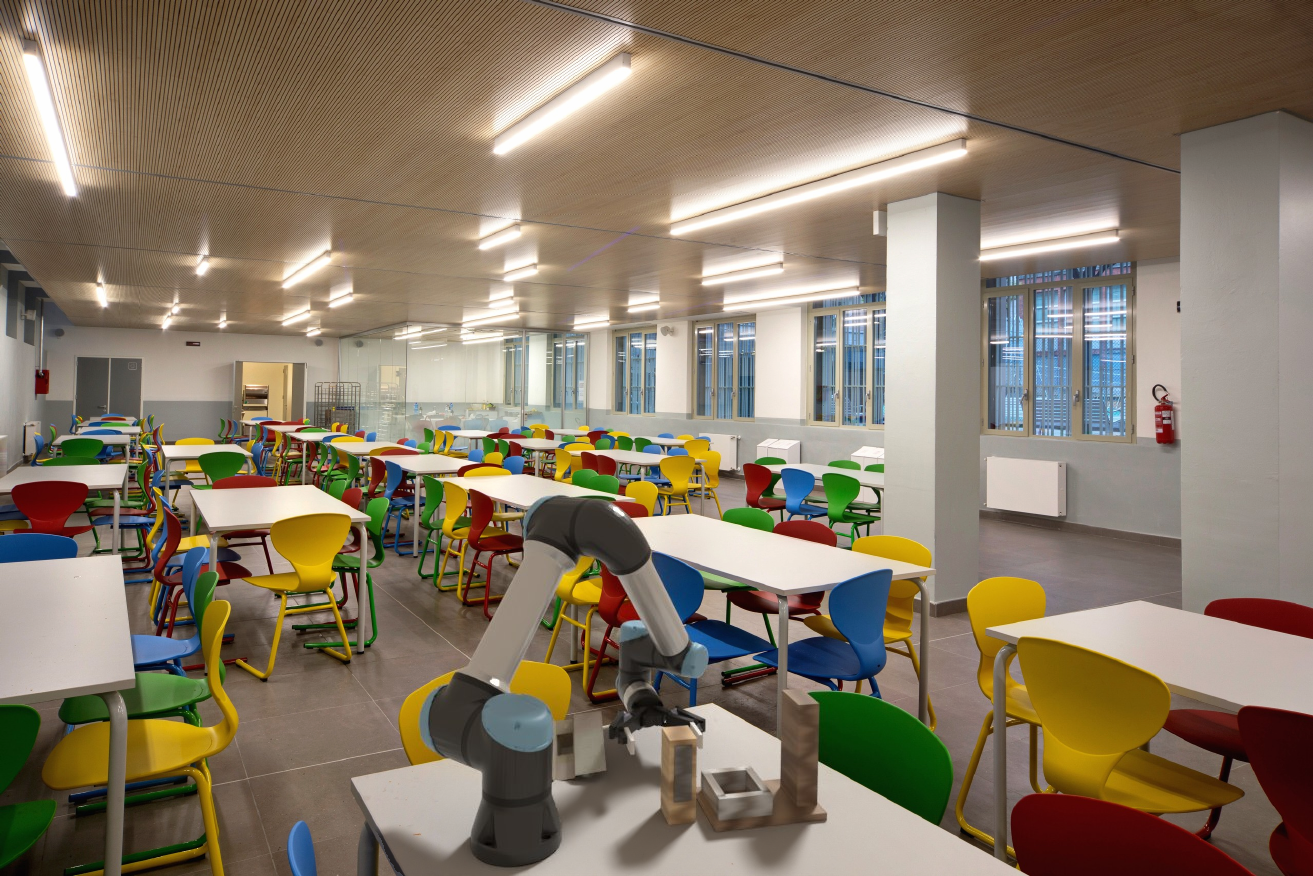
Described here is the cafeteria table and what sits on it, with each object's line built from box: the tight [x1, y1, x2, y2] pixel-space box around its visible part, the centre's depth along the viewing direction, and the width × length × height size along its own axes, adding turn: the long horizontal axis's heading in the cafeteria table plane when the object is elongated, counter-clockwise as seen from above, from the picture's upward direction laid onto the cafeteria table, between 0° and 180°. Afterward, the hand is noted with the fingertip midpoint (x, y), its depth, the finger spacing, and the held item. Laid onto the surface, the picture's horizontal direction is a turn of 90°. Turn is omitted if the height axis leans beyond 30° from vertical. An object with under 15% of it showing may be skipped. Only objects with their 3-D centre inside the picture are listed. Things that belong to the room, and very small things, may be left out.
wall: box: [552, 710, 607, 782], centre depth 158 cm, size 16×9×15 cm
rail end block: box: [660, 725, 698, 826], centre depth 138 cm, size 5×6×15 cm
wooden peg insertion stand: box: [696, 688, 828, 833], centre depth 141 cm, size 21×14×20 cm, turn 103°
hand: (667, 745), depth 147 cm, fingers open, 13 cm apart
